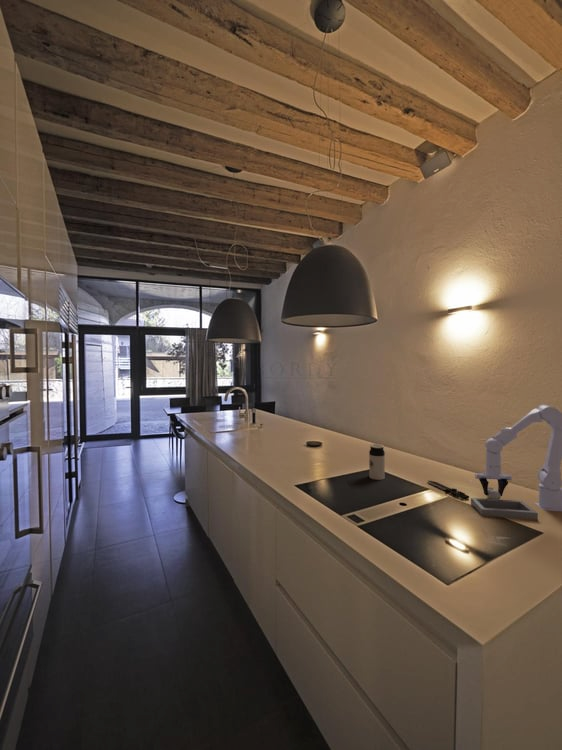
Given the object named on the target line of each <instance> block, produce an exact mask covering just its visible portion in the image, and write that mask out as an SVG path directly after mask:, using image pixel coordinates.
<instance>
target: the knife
mask: <svg viewBox="0 0 562 750" xmlns="http://www.w3.org/2000/svg"><path fill="white" fill-rule="evenodd" d="M427 482H428V483H429V484H431V485H434V486H436V487H438V488H440V489H441V490H445V493H449V494H450V495H452V496H453V497H456V498H459V499H462V500H466V499H467V500H468V499H470V496H469V495H468V494H466V493H465V492H463V491H459V490H457V488H451V487H448V486H446V485H443V484H441V483H440V482H437V481H434V480H427Z"/></svg>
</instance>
